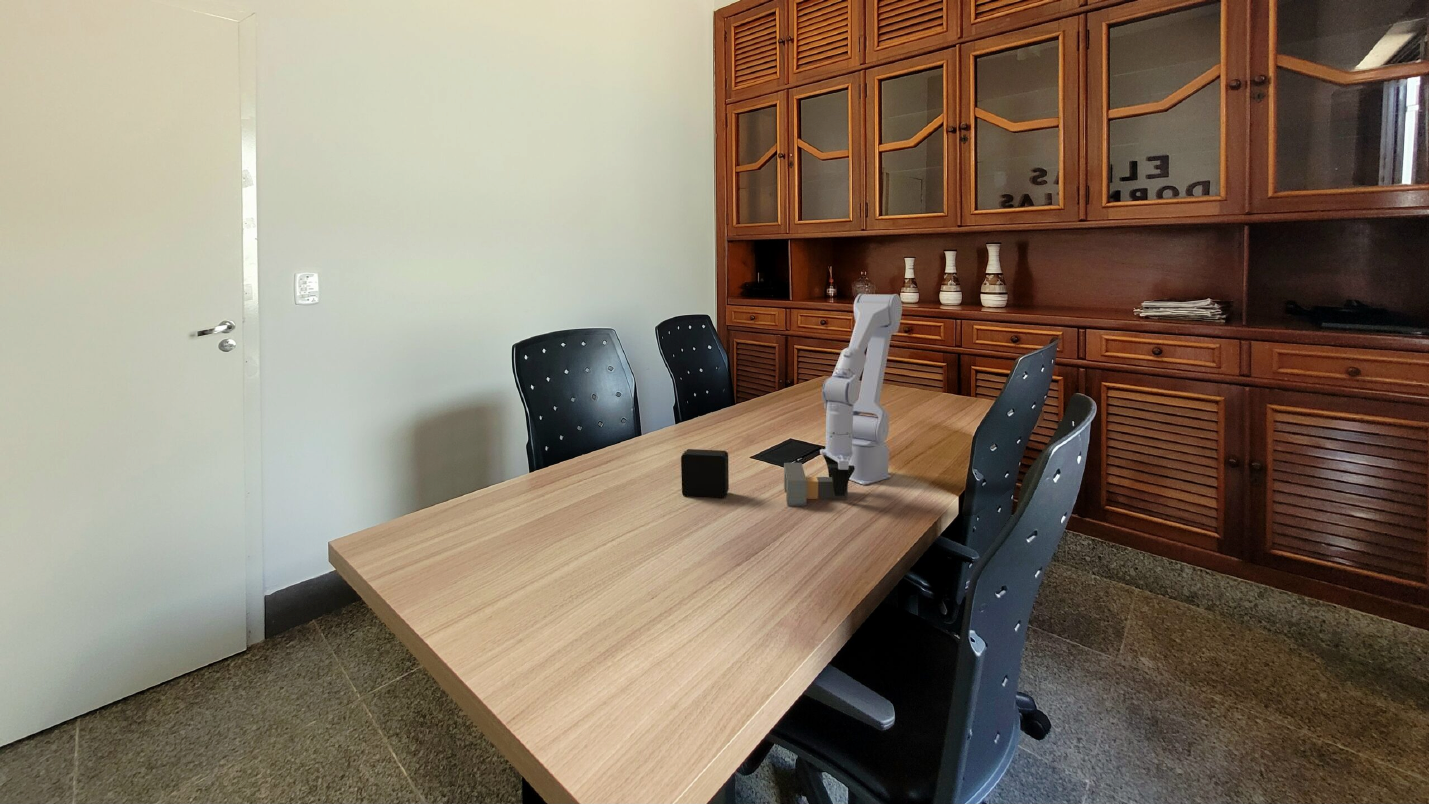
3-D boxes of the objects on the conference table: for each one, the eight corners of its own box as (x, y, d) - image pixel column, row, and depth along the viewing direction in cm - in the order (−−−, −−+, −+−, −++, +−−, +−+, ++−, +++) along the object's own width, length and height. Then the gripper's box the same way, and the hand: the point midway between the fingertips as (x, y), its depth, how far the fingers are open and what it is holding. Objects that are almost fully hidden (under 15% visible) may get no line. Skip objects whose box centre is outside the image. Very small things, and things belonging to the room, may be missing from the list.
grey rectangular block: (801, 486, 142) (801, 462, 141) (806, 506, 131) (806, 480, 129) (783, 486, 143) (784, 462, 141) (787, 506, 131) (787, 480, 130)
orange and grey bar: (845, 493, 138) (845, 477, 137) (847, 498, 135) (847, 481, 134) (787, 493, 138) (787, 476, 137) (788, 498, 135) (788, 481, 134)
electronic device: (725, 499, 135) (725, 456, 133) (681, 496, 137) (680, 454, 135) (728, 492, 139) (728, 450, 137) (686, 489, 141) (685, 448, 139)
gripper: (816, 423, 140) (815, 478, 143) (825, 440, 126) (823, 502, 129) (847, 422, 140) (845, 478, 143) (859, 440, 126) (857, 502, 129)
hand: (837, 490), depth 136 cm, fingers open, 6 cm apart
